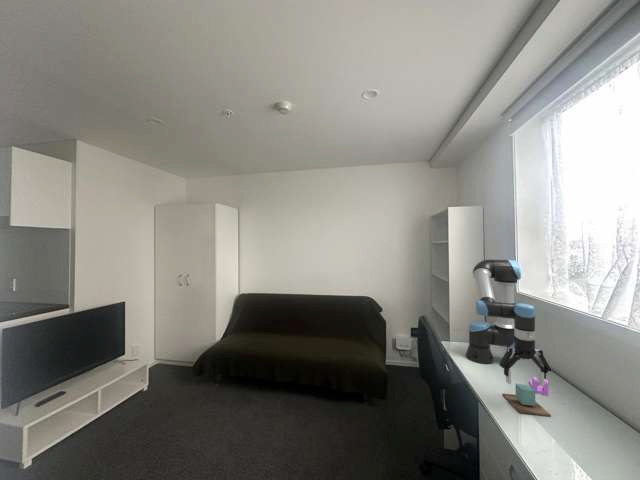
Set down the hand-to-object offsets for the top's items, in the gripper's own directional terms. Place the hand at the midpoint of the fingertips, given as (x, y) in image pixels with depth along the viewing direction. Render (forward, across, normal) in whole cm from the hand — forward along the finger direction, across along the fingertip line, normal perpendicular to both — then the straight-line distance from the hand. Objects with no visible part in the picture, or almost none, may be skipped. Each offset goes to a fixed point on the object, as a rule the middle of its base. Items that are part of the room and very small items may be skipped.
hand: (524, 384), depth 119 cm
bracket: (+10, +16, +17) cm, 25 cm away
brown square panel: (+10, 0, -1) cm, 10 cm away
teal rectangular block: (+8, 0, -1) cm, 8 cm away
